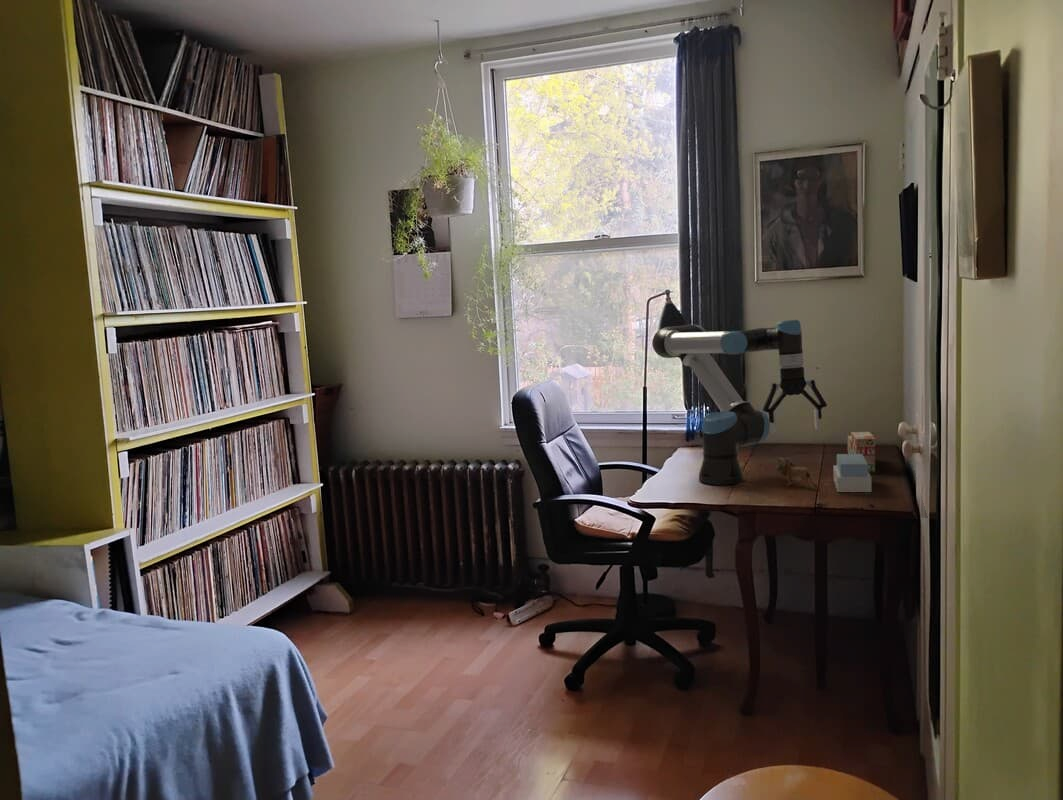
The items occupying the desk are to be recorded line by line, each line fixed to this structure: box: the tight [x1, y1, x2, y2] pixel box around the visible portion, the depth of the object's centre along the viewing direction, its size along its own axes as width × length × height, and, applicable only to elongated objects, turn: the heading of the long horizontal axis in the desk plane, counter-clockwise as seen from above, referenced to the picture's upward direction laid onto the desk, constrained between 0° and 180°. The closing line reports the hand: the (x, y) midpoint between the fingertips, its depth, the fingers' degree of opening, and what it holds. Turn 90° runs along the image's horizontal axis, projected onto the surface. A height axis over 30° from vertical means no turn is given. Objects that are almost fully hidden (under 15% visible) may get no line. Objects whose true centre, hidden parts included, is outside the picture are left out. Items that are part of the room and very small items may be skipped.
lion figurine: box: [774, 457, 819, 490], centre depth 280 cm, size 15×5×9 cm, turn 46°
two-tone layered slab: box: [832, 453, 872, 493], centre depth 275 cm, size 10×18×9 cm, turn 164°
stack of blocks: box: [846, 431, 876, 473], centre depth 303 cm, size 21×6×12 cm, turn 168°
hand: (796, 430), depth 281 cm, fingers open, 13 cm apart
